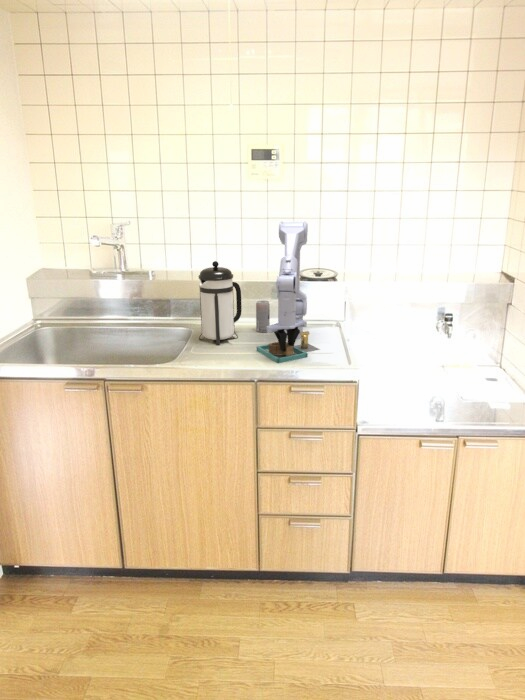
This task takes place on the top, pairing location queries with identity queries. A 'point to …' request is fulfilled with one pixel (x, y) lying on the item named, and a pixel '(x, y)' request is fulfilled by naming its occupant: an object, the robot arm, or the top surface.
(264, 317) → the energy drink
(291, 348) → the ring
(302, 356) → the tray
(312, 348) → the base
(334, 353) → the top surface
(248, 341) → the top surface
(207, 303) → the coffee press
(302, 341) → the gold t-shaped peg
